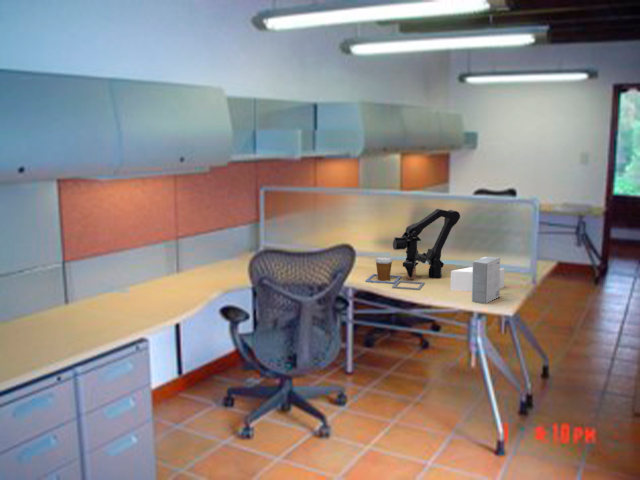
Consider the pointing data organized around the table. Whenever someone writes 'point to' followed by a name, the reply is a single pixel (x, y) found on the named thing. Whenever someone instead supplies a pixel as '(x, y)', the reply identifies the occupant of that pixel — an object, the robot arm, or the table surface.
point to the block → (412, 274)
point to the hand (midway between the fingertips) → (411, 276)
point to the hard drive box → (486, 279)
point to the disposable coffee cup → (383, 268)
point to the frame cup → (382, 281)
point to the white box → (467, 279)
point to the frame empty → (408, 287)
